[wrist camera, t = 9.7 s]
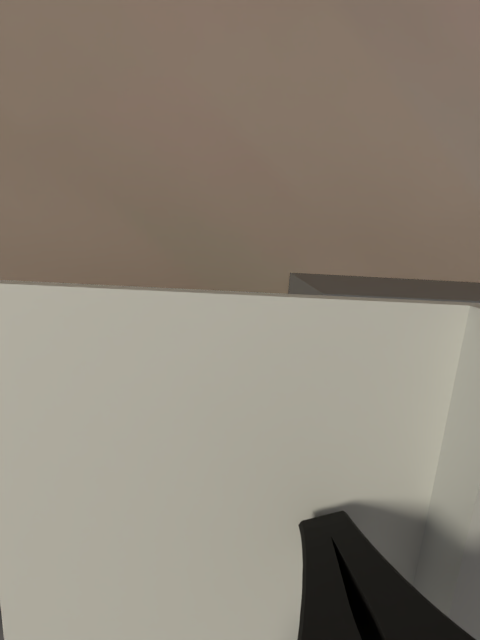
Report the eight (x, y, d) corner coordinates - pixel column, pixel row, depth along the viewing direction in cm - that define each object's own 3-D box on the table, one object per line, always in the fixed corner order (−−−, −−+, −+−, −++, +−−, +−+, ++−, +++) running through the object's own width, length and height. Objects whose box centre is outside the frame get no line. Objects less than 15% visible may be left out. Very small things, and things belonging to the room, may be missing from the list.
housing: (614, 289, 17) (765, 314, 12) (535, 561, 20) (631, 660, 15) (290, 273, 16) (322, 293, 11) (263, 564, 19) (280, 672, 14)
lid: (498, 303, 11) (567, 323, 9) (416, 677, 14) (452, 756, 12) (-22, 279, 10) (-86, 294, 8) (18, 691, 13) (-19, 782, 11)
